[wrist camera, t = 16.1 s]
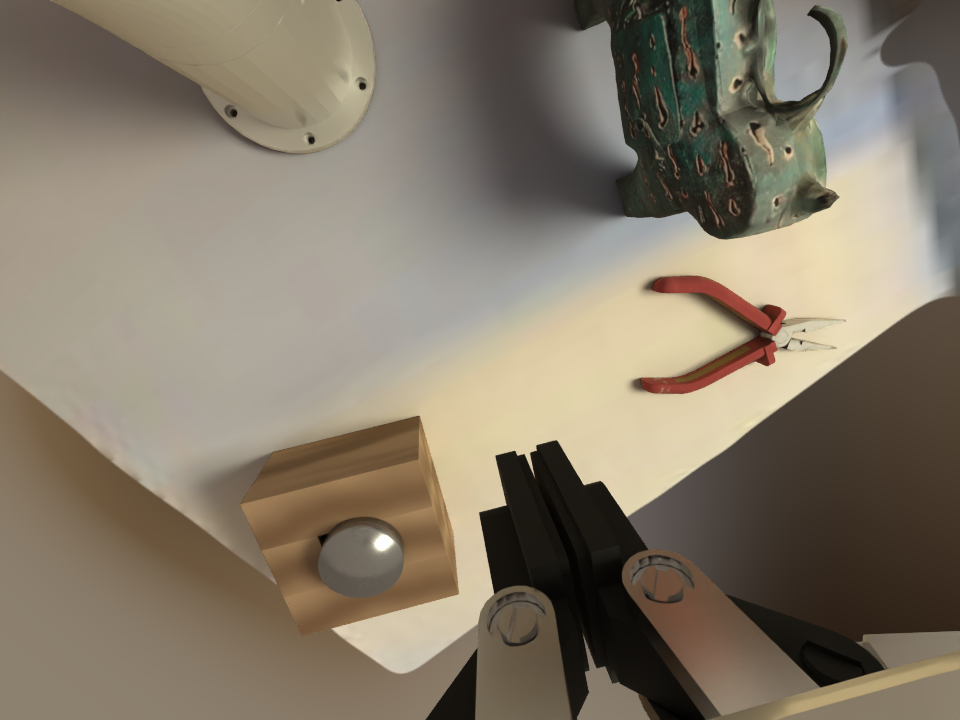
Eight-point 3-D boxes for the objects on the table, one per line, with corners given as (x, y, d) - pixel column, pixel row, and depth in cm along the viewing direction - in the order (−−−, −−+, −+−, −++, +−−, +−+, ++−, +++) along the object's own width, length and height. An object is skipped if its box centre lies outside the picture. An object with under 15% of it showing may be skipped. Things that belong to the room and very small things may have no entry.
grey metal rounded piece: (328, 479, 42) (305, 542, 34) (397, 462, 42) (390, 520, 34) (349, 534, 44) (333, 606, 36) (414, 518, 44) (412, 585, 36)
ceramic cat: (676, 217, 39) (909, 218, 20) (608, 244, 39) (779, 269, 20) (622, -48, 33) (893, -406, 14) (541, -16, 33) (701, -330, 14)
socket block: (273, 452, 41) (239, 504, 34) (419, 415, 42) (418, 459, 35) (322, 567, 46) (302, 636, 38) (453, 532, 47) (458, 594, 39)
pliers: (815, 383, 47) (837, 392, 44) (635, 389, 45) (647, 399, 42) (844, 274, 44) (869, 277, 41) (650, 274, 41) (664, 277, 39)
